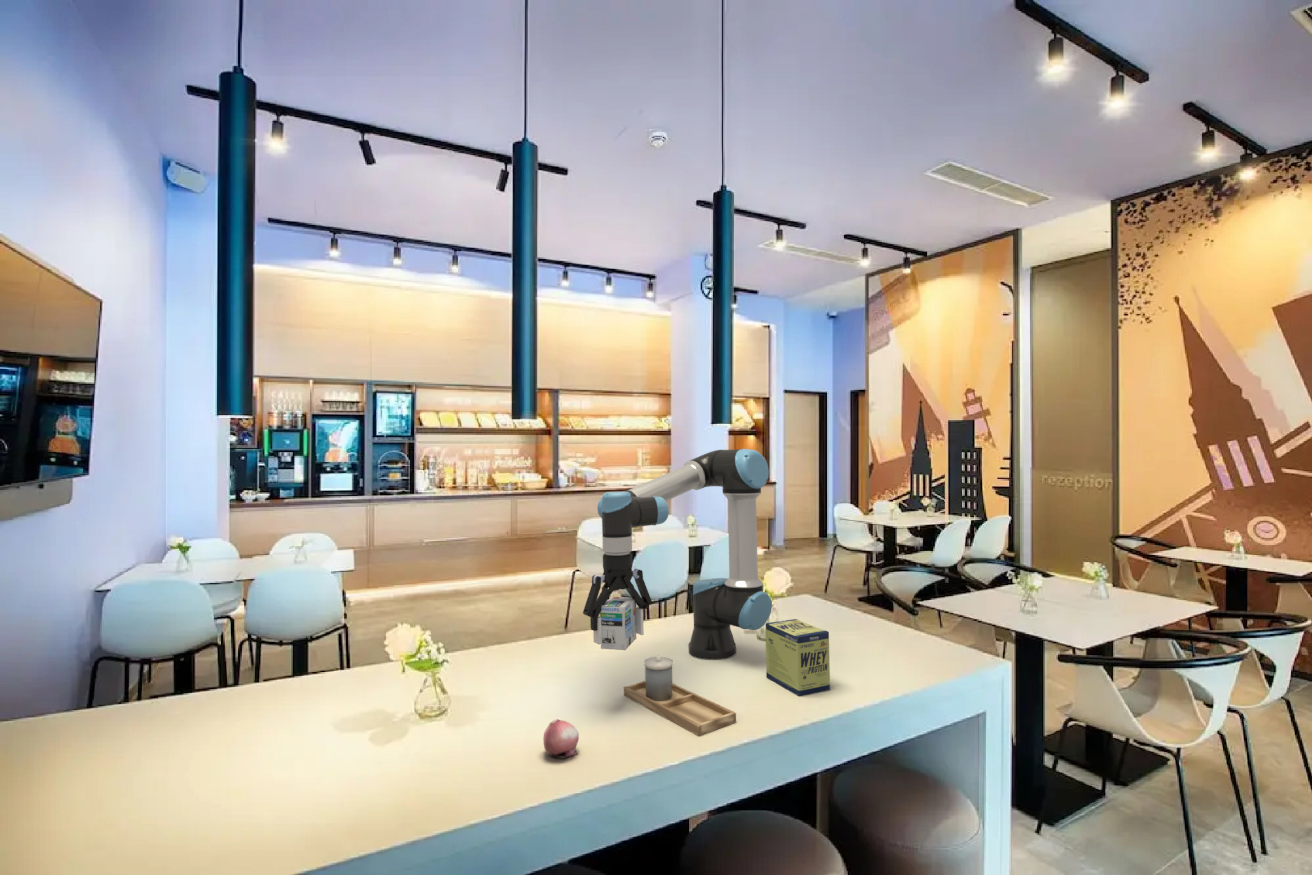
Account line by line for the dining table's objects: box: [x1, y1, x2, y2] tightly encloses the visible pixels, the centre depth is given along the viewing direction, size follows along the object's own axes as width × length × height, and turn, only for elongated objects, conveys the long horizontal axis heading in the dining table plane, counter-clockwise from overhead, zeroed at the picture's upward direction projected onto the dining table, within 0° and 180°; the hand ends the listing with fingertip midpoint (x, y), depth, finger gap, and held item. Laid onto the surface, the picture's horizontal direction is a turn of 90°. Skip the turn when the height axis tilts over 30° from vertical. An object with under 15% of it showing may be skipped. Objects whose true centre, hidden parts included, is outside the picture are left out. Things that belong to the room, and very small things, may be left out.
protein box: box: [765, 618, 831, 697], centre depth 170 cm, size 10×16×16 cm
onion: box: [542, 718, 580, 759], centre depth 133 cm, size 8×8×7 cm
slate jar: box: [643, 655, 674, 701], centre depth 161 cm, size 7×7×10 cm
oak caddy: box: [623, 680, 737, 737], centre depth 155 cm, size 12×30×2 cm, turn 37°
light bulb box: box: [599, 595, 637, 651], centre depth 158 cm, size 11×7×11 cm, turn 167°
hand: (619, 638), depth 157 cm, fingers closed on light bulb box, 12 cm apart
